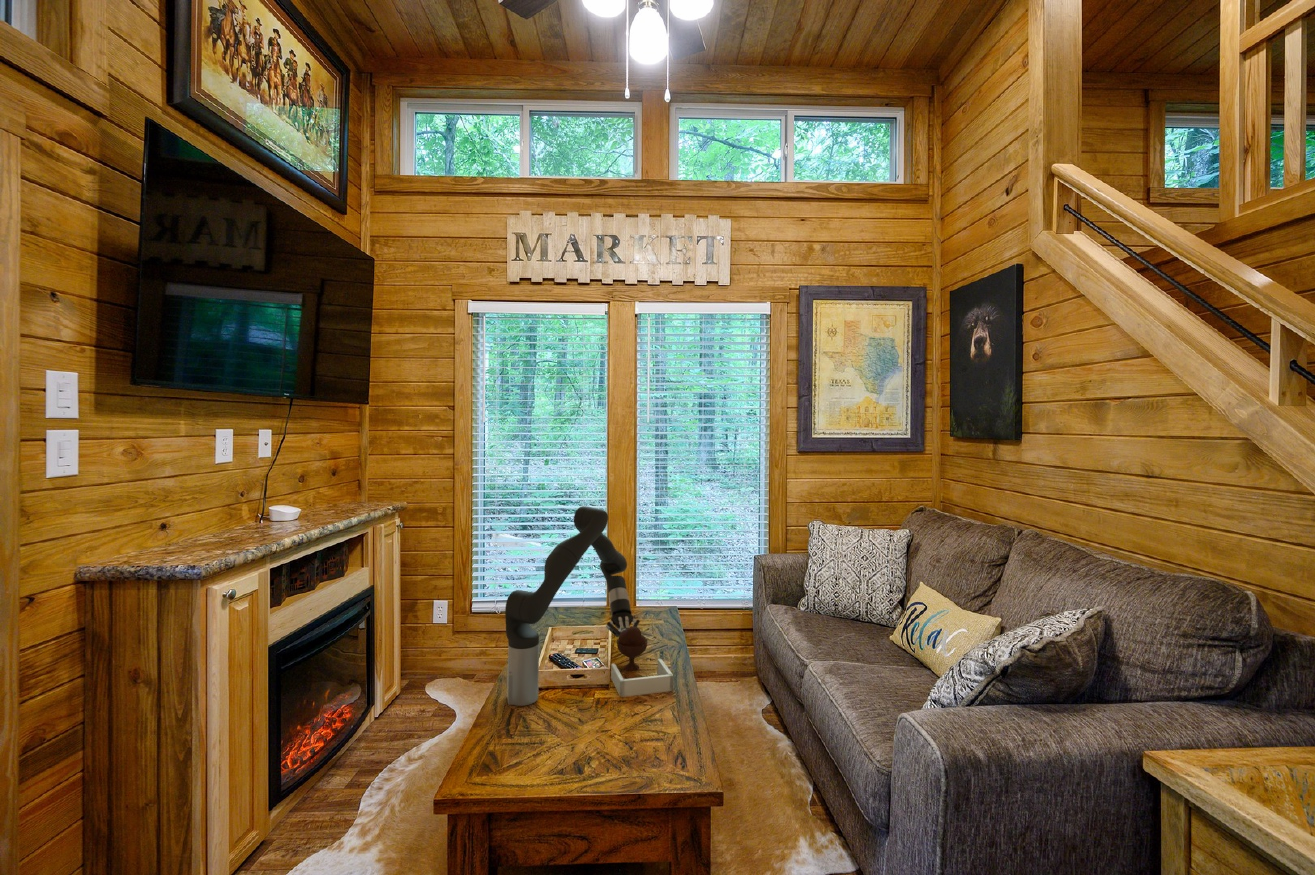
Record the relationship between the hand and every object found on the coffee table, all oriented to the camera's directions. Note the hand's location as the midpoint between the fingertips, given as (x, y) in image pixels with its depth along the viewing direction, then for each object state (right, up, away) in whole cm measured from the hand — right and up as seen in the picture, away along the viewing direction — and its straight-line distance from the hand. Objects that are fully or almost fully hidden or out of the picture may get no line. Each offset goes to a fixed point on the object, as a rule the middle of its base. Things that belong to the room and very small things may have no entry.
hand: (626, 646), depth 211 cm
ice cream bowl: (+2, -5, -7) cm, 9 cm away
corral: (+6, -6, -19) cm, 21 cm away
